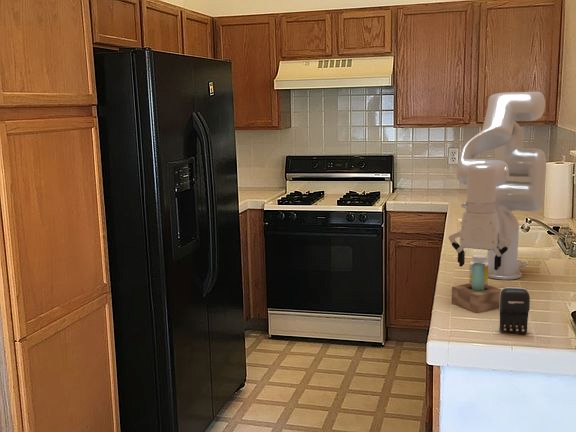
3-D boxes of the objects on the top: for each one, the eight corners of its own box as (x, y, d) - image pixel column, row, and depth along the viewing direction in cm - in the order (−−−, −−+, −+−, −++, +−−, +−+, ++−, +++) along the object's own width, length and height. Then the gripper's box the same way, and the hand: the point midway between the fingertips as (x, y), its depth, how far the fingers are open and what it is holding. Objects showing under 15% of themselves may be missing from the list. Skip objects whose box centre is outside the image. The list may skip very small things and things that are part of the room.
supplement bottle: (490, 287, 197) (492, 255, 196) (482, 291, 193) (483, 258, 192) (474, 284, 201) (475, 252, 199) (465, 288, 197) (466, 256, 195)
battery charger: (499, 334, 157) (501, 290, 155) (497, 329, 160) (499, 286, 159) (529, 336, 155) (531, 291, 153) (526, 331, 159) (529, 287, 157)
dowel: (481, 303, 182) (482, 262, 179) (485, 307, 178) (486, 265, 176) (469, 303, 181) (470, 263, 179) (473, 307, 178) (474, 266, 176)
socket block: (477, 298, 187) (478, 281, 186) (503, 307, 178) (503, 290, 177) (451, 303, 182) (451, 286, 181) (476, 313, 173) (477, 295, 172)
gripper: (446, 208, 176) (445, 267, 180) (510, 212, 168) (508, 274, 171) (452, 203, 183) (451, 260, 186) (515, 207, 174) (513, 266, 178)
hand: (479, 267), depth 179 cm, fingers open, 9 cm apart
